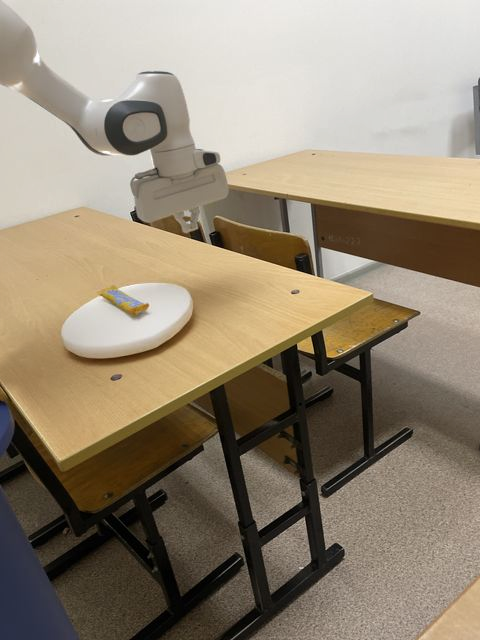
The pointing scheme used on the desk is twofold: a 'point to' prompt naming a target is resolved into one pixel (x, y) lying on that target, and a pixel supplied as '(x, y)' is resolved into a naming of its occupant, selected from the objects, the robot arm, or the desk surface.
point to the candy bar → (123, 300)
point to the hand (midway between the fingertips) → (190, 230)
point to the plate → (127, 322)
